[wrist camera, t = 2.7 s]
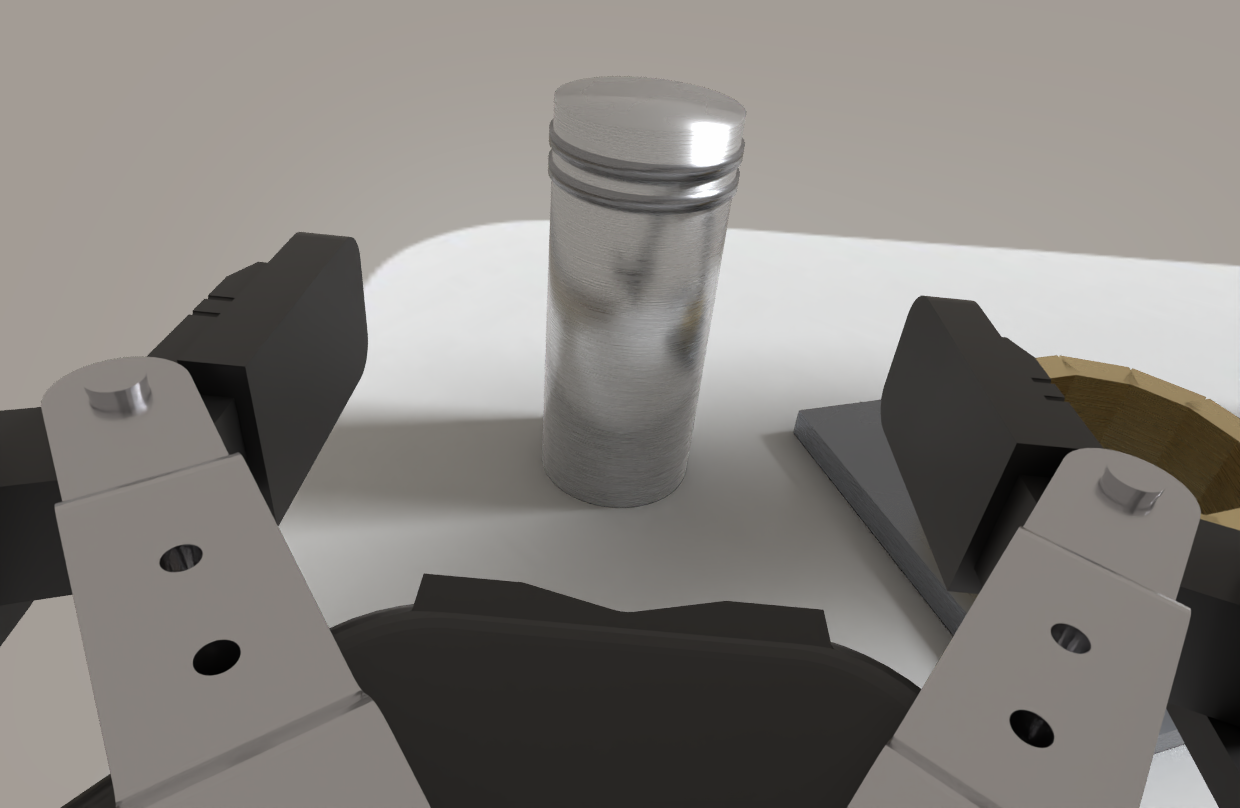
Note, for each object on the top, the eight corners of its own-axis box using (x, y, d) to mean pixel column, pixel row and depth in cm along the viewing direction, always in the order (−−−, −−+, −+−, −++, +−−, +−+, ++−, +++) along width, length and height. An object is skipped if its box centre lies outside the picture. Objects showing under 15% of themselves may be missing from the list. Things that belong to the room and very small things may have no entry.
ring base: (1085, 391, 34) (1127, 307, 32) (1444, 659, 23) (1547, 563, 21) (793, 432, 30) (817, 339, 28) (1068, 781, 19) (1144, 678, 17)
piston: (658, 406, 31) (703, 76, 24) (712, 496, 27) (785, 131, 20) (524, 423, 29) (530, 74, 22) (560, 520, 25) (581, 134, 18)
